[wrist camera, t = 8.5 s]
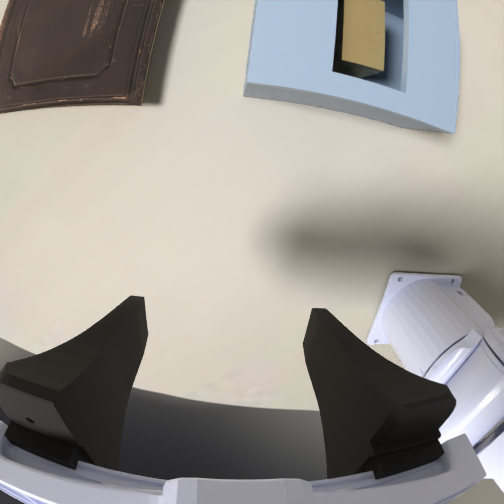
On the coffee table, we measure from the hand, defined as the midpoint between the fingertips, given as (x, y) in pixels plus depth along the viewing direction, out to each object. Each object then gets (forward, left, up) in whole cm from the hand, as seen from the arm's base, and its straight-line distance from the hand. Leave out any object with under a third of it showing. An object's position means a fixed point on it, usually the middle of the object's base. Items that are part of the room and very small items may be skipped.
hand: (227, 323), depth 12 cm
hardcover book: (+14, -21, -11) cm, 28 cm away
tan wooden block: (-6, -15, -10) cm, 19 cm away
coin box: (-6, -15, -10) cm, 19 cm away
